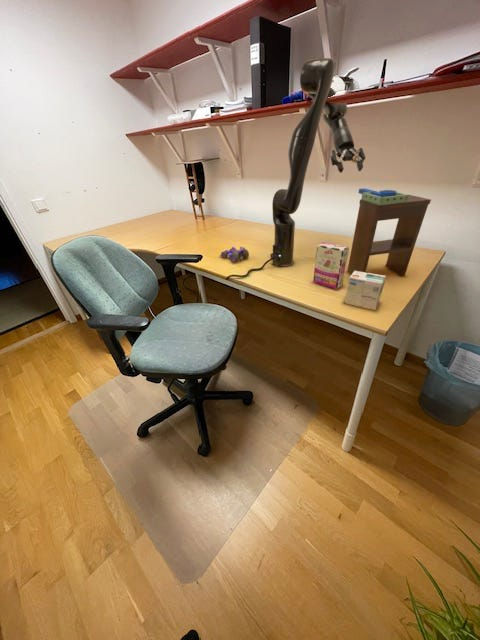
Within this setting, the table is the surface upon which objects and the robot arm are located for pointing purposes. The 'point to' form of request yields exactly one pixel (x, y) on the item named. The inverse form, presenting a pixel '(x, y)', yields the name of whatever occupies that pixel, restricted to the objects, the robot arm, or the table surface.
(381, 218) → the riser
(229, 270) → the table surface
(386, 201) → the green shallow tray
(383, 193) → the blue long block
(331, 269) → the candy bar box
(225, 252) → the purple lumpy cluster
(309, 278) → the table surface
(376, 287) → the light bulb box
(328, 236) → the table surface
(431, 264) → the table surface
